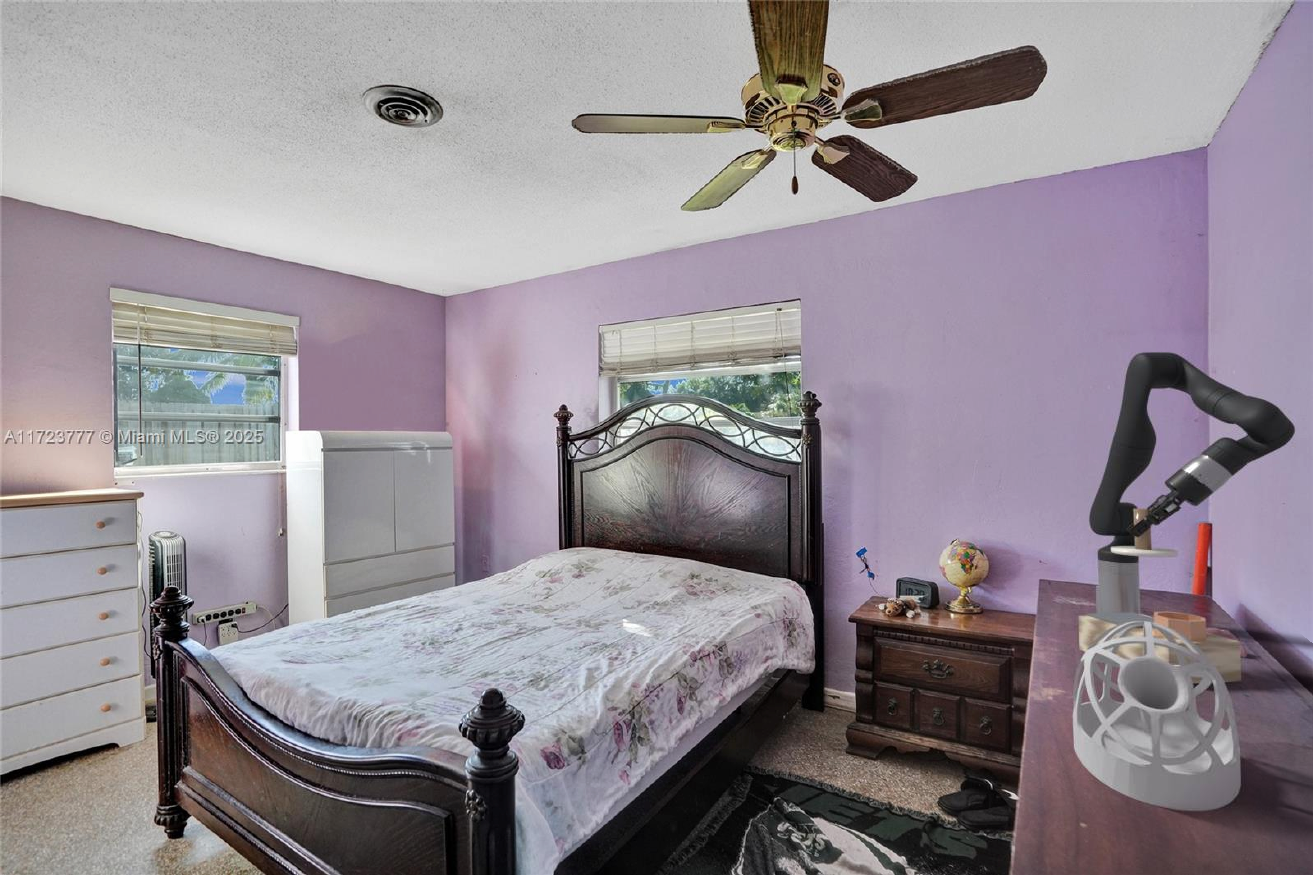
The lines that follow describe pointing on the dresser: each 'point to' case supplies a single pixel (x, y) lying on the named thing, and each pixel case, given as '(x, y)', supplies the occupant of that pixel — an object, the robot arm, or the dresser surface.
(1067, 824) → the dresser surface
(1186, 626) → the bowl
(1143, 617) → the mat
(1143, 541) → the lid
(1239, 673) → the riser
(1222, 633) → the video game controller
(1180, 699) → the lampshade
